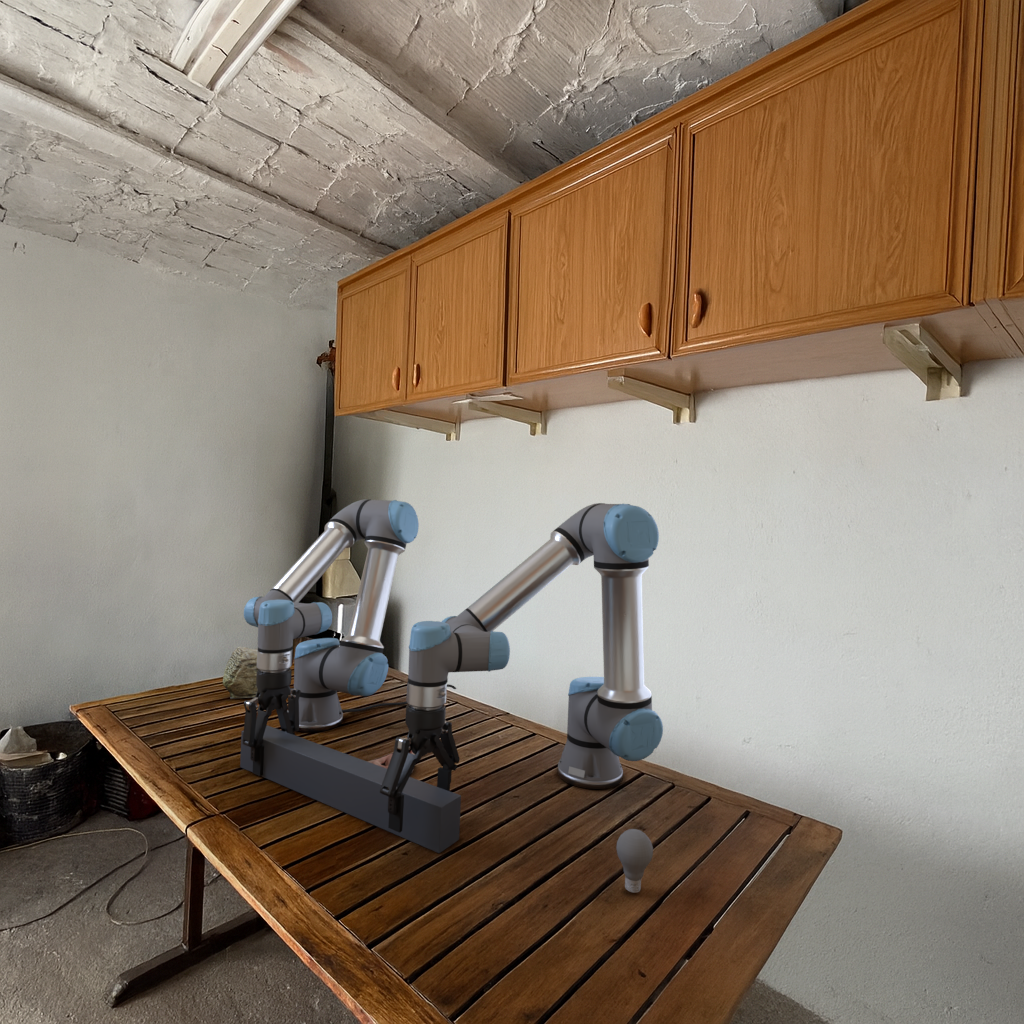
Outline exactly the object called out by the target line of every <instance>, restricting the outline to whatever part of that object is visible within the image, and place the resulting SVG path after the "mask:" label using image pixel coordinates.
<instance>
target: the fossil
mask: <svg viewBox="0 0 1024 1024" xmlns="http://www.w3.org/2000/svg"><path fill="white" fill-rule="evenodd" d="M257 650H258V647H257V648H251V647H247V646H246V647H245V646H238V647H237V648H236V649H235V650H233V651H232V653H231V656H230V657H229V659H228V660H227V663H226V666H225V668H224V671H223V675H222V676H223V677H222V685H223V687H224V688H225V690H226V691H228V693H229V698H230V699H250V698H252V699H253V698H255V696H256V694H257V686H256V675H257V671H258V670H259V669H258V668H257Z"/></svg>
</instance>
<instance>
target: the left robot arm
mask: <svg viewBox="0 0 1024 1024" xmlns="http://www.w3.org/2000/svg"><path fill="white" fill-rule="evenodd" d="M418 534H419V518H418V515H417V512H416V509H415V508H414V506H413V505H411V504H410V503H409V502H406V501H401V500H397V499H393V500H390V499H389V500H387V499H386V500H385V499H371V498H370V499H369V498H366V499H360V500H357V501H354V502H352V503H350V504H347V506H345V507H343V508H342V509H341V510H339V511H338V512H337V513H336V514H334V515H333V516H332V518H330V519H329V521H327V523H326V524H325V525H324V531H323V532H322V533H321V534H320V535H319V536H318V537H317V538H316V540H314V542H313V543H311V545H310V546H309V547H308V548H307V550H306V551H305V552H304V553H303V554H302V555H301V556H300V557H299V558H298V559H297V560H296V562H294V563H293V565H292V566H290V568H289V569H288V570H287V571H286V572H285V574H283V575H282V577H280V579H279V580H278V581H277V582H276V583H275V584H274V585H273V586H272V587H271V588H270V590H269V591H268V592H267V593H266V594H265V595H264V596H253V597H252V598H250V599H249V600H248V601H247V602H246V604H245V605H244V608H243V618H244V620H245V622H246V623H247V624H248V625H249V626H252V627H255V628H257V648H258V650H257V668H258V669H259V670H258V671H257V675H256V686H257V694H256V696H255V697H253V698H252V699H250V700H248V699H247V700H244V702H243V707H244V711H245V713H244V723H243V730H244V732H243V744H244V745H246V746H249V747H251V757H250V758H251V760H252V761H253V772H252V774H254V775H256V776H259V777H262V775H263V760H264V746H262V745H261V743H262V739H263V736H264V732H265V729H266V725H268V722H269V719H270V717H271V716H272V713H273V711H276V715H277V719H278V723H279V726H280V730H281V731H284V732H287V733H290V734H292V735H295V736H296V732H301V733H316V732H325V731H329V730H332V729H335V728H337V727H339V726H340V725H342V723H343V722H344V713H357V712H363V711H367V710H370V709H375V708H379V707H388V706H402V705H408V703H407V701H406V700H405V701H402V702H401V701H399V702H383V703H376V704H372V705H367V706H365V707H361V708H345V709H342V706H341V702H340V699H339V695H338V692H340V693H344V694H348V695H351V696H356V697H357V696H359V697H370V696H372V695H374V694H376V693H377V691H378V690H380V689H381V687H382V686H383V685H384V683H385V681H386V679H387V676H388V672H389V663H388V662H389V661H388V658H387V656H385V654H383V653H384V649H385V646H384V645H383V643H382V642H381V636H382V631H383V627H384V622H385V618H386V614H387V608H388V605H389V599H390V595H391V590H392V587H393V581H394V578H395V577H394V576H395V573H396V569H397V568H396V567H397V563H398V559H399V556H400V555H402V553H405V551H406V548H407V544H410V543H412V542H414V540H415V539H416V538H417V537H418ZM361 540H364V542H363V543H364V545H365V546H366V548H367V553H366V557H365V562H364V566H363V570H362V574H361V577H360V581H359V582H360V583H359V587H358V590H357V595H356V600H355V603H354V608H353V612H352V616H351V621H350V625H349V629H348V633H347V634H346V636H344V637H343V638H341V639H340V640H339V639H338V638H335V637H322V638H313V639H308V640H304V641H302V642H299V643H298V644H297V645H296V647H295V652H294V653H295V654H294V657H293V650H294V649H293V647H294V645H293V644H294V640H296V639H300V638H304V637H309V636H313V635H315V636H316V635H318V634H320V633H323V632H327V630H328V629H329V628H330V627H331V626H332V623H333V612H332V610H331V608H330V606H329V605H327V604H326V603H325V602H321V601H319V602H316V601H313V602H311V603H304V602H301V601H302V599H303V598H304V597H305V596H306V595H307V594H308V592H309V591H310V590H311V589H312V588H313V587H314V586H315V584H316V583H317V582H318V581H319V580H320V578H321V577H322V576H323V575H324V574H325V573H326V572H327V571H328V569H329V568H330V567H331V566H332V565H333V564H334V563H335V561H336V560H337V559H338V557H340V555H341V554H342V553H343V552H344V550H346V549H350V548H352V547H353V546H354V545H355V544H356V543H357V542H359V541H361ZM293 659H294V660H293ZM293 662H294V663H293ZM293 665H294V666H293ZM292 666H293V670H292V669H291V667H292ZM292 672H293V687H290V686H291V684H292ZM447 688H452V689H453V690H457V687H456V686H454V685H453V684H450V683H449V684H448V683H447Z"/></svg>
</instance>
